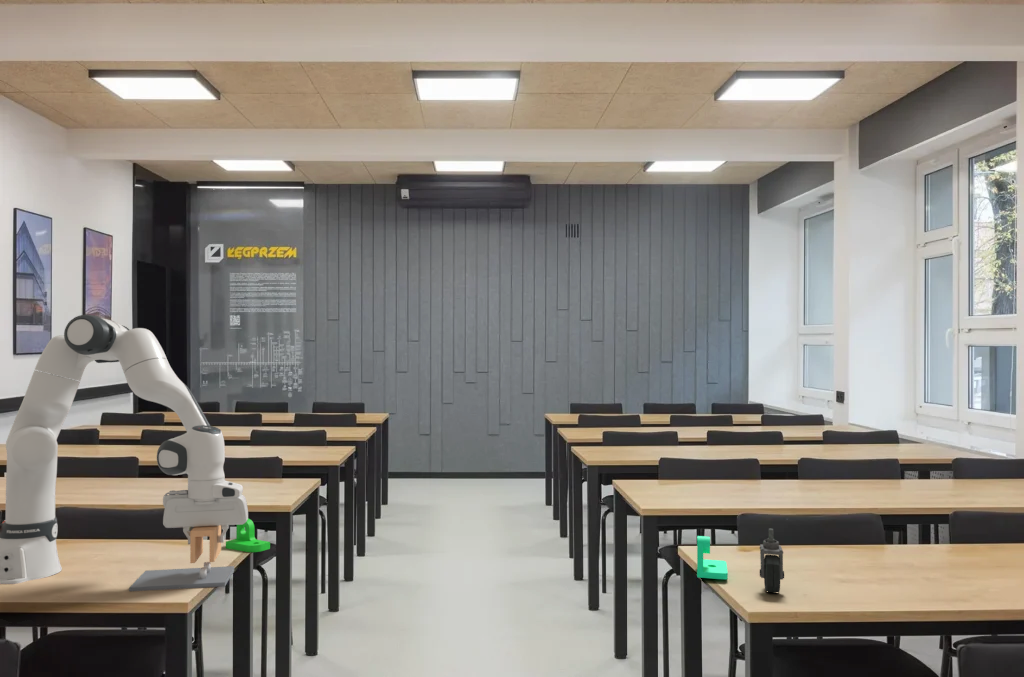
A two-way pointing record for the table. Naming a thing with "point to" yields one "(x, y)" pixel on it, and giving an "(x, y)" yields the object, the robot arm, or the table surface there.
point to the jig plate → (183, 578)
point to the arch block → (197, 542)
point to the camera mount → (709, 562)
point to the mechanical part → (247, 539)
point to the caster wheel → (771, 563)
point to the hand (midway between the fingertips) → (206, 543)
